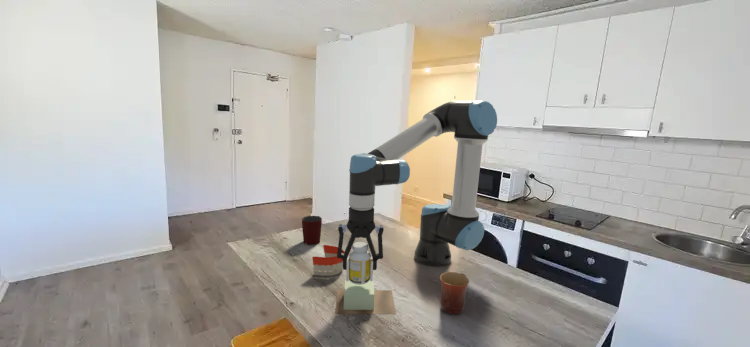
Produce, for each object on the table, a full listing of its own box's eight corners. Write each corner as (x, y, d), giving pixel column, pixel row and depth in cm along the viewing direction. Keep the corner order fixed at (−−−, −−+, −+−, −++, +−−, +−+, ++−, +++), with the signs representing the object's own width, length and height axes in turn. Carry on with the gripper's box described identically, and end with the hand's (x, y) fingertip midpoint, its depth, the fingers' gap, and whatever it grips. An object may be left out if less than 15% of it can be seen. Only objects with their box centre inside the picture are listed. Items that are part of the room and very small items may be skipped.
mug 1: (311, 234, 159) (311, 213, 157) (327, 237, 157) (328, 215, 155) (298, 243, 148) (298, 220, 146) (316, 246, 145) (316, 223, 143)
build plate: (391, 293, 110) (391, 290, 109) (396, 317, 97) (396, 313, 97) (337, 293, 108) (337, 290, 108) (334, 317, 96) (334, 313, 96)
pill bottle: (369, 275, 104) (371, 240, 102) (370, 285, 98) (371, 249, 96) (349, 275, 104) (350, 240, 102) (348, 285, 98) (349, 248, 96)
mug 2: (458, 321, 96) (461, 289, 94) (432, 309, 101) (434, 278, 99) (475, 304, 105) (478, 274, 103) (450, 294, 110) (452, 265, 109)
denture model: (339, 282, 116) (339, 261, 114) (311, 278, 117) (311, 258, 116) (349, 266, 128) (349, 247, 126) (323, 263, 130) (323, 244, 128)
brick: (372, 293, 107) (373, 279, 106) (373, 309, 98) (374, 294, 97) (344, 293, 106) (345, 279, 106) (343, 309, 98) (344, 294, 97)
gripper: (393, 204, 101) (389, 273, 105) (329, 202, 100) (328, 272, 104) (395, 211, 94) (392, 285, 98) (327, 209, 93) (326, 285, 97)
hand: (359, 278), depth 101 cm, fingers closed on pill bottle, 6 cm apart
